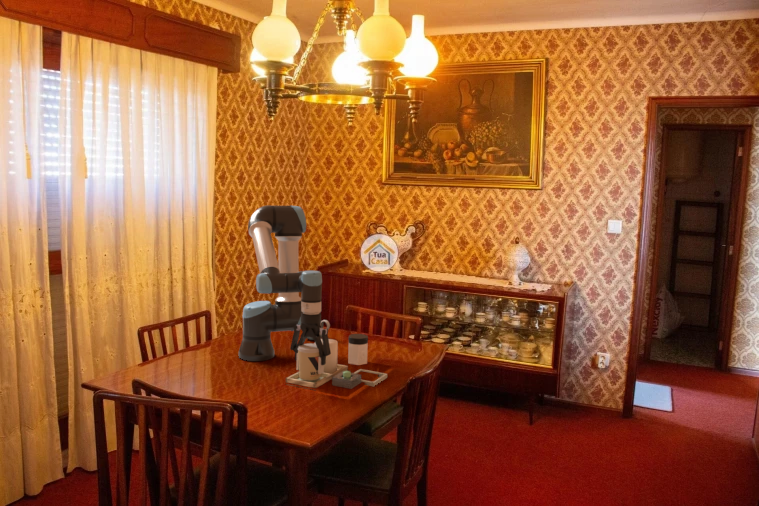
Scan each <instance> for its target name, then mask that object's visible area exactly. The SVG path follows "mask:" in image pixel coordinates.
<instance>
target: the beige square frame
mask: <svg viewBox="0 0 759 506" xmlns="http://www.w3.org/2000/svg"><path fill="white" fill-rule="evenodd" d="M361 372H365V373H369V374H373V375H374V374H375V375H377V377H378V378H377V379H375V380H373V381H371V380H365V379H361V383H364V385H365V386H369V387H375V385H376V386H378V385H379V384H380V383H381V381H382V382H383V381H384V380H386V379H387V378H388V373H384V372H379V371H373V370H370V369H369V370H368V369H364V368H363V369H362V368H360V369H358V370H356V371H354V372H353V373H354V374H359V373H361ZM378 383H379V384H378Z"/></svg>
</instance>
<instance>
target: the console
mask: <svg viewBox="0 0 759 506" xmlns="http://www.w3.org/2000/svg"><path fill="white" fill-rule="evenodd" d="M361 380H362V374H359V373H357V374H354V372H351V377H350V378H345V377H343V371H342V372H341V373H339V374H337V375H335V376H334V377H332V379H331V385H332V386H334V387H340V388H345V389H350V390H352V389H353V388H355V387H356V386H358V385H359V384H361V383H362V382H361Z"/></svg>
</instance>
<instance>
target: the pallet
mask: <svg viewBox="0 0 759 506" xmlns="http://www.w3.org/2000/svg"><path fill="white" fill-rule="evenodd" d="M342 371H349V366H348V365H345V364H339V363H337V371H335V372H333V373H332V374H329V373H324V372H323V373H321V374H320V378H319V379H317V380H312V381H307V380H302V379H300V377H299V371H297V372H296V373H294V374H291V375H289V376H287V377H285V385H286V386H291V387H296V388H300V389H305V390H310V391H315V392H316V391H317V388H319V387H320V386H322V385H324V384H325V383H327V382H329V381H330V380H331V381H332V377H334V376H335V375H337V374H339V373H341V372H342ZM302 386H303V387H302ZM307 387H308V388H307Z"/></svg>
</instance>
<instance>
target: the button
mask: <svg viewBox="0 0 759 506" xmlns="http://www.w3.org/2000/svg"><path fill="white" fill-rule="evenodd" d="M351 373H352V372H351V370H347V371H343V377H345V378H350V377H351Z"/></svg>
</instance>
